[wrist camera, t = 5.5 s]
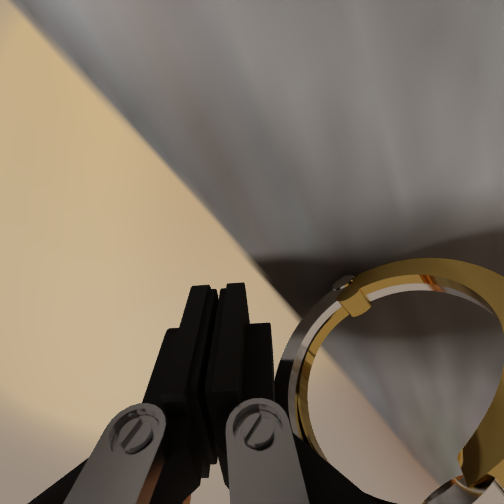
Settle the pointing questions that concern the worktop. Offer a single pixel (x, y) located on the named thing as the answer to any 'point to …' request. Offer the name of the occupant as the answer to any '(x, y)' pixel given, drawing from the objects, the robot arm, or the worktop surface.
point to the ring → (359, 301)
